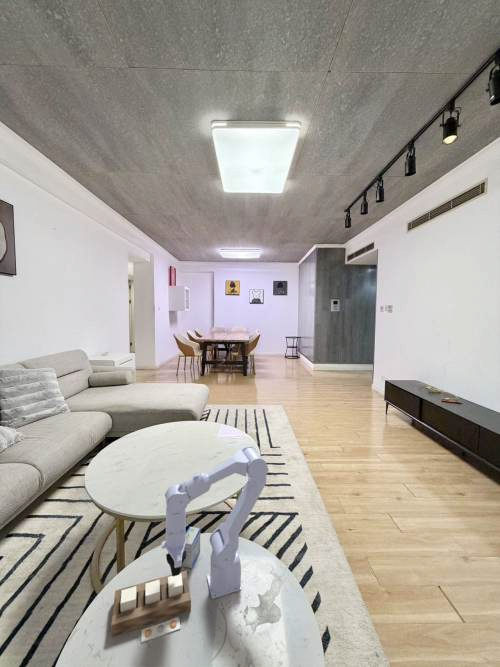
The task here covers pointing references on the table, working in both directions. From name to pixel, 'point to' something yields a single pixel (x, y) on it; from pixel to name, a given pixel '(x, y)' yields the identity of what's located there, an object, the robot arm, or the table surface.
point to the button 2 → (175, 585)
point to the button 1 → (128, 599)
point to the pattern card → (160, 629)
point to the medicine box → (191, 546)
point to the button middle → (152, 592)
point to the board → (149, 607)
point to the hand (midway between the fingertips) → (175, 569)
